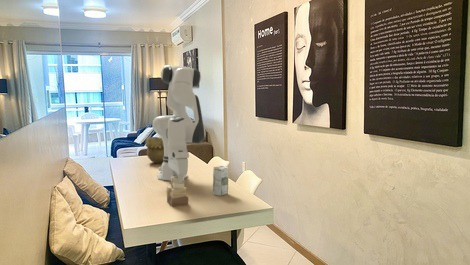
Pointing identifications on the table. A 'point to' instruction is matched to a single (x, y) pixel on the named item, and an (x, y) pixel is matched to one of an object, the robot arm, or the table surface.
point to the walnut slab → (177, 201)
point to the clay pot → (155, 149)
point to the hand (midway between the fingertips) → (177, 180)
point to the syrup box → (220, 180)
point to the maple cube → (176, 183)
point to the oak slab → (176, 192)
